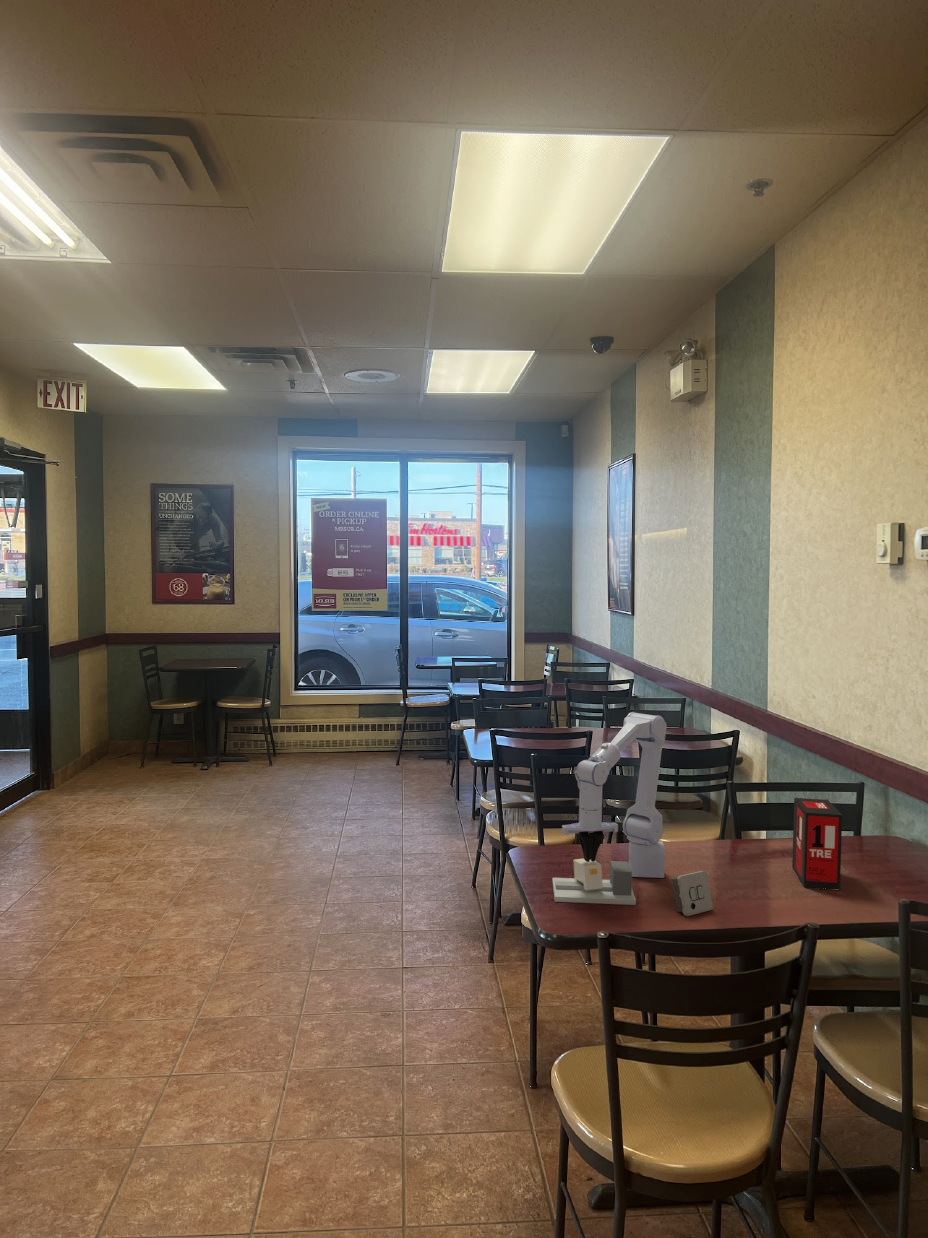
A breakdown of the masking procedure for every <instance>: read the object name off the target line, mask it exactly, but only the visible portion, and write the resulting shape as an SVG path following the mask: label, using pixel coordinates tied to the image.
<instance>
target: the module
mask: <svg viewBox="0 0 928 1238" xmlns="http://www.w3.org/2000/svg"><path fill="white" fill-rule="evenodd" d="M572 863H573V873H574V878H575V882H582V883H584V889H585V890H593V889H601V888H603V883H602V880H603V873H602V872H603V871H602V864H601V863H600V862H598V861H597V860H595V861H594V862H592V861H591V860H590V861H589V862H586V861H585V860H584V857H583V858H576V859H573V861H572Z"/></svg>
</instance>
